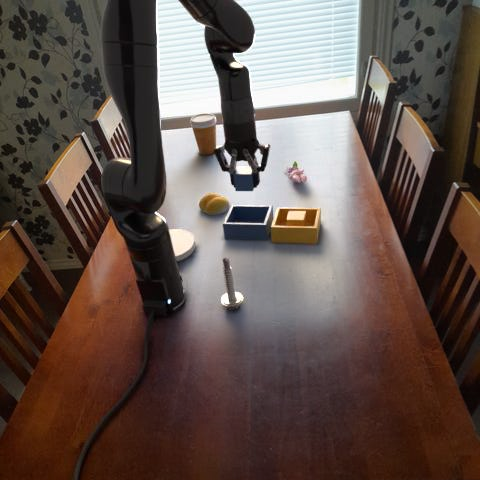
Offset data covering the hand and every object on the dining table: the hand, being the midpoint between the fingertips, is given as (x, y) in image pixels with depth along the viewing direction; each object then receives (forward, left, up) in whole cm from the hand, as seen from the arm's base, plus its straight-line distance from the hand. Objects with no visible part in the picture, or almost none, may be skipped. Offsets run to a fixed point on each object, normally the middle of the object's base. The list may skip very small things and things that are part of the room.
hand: (246, 186), depth 115 cm
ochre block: (-1, -13, -12) cm, 18 cm away
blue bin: (0, 0, -13) cm, 13 cm away
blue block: (0, 0, 0) cm, 0 cm away
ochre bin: (-1, -13, -13) cm, 18 cm away
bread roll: (+11, +13, -13) cm, 22 cm away
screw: (-32, -3, -13) cm, 34 cm away
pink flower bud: (+29, -9, -13) cm, 33 cm away
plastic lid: (-12, +19, -13) cm, 26 cm away
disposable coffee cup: (+53, +27, -13) cm, 61 cm away
